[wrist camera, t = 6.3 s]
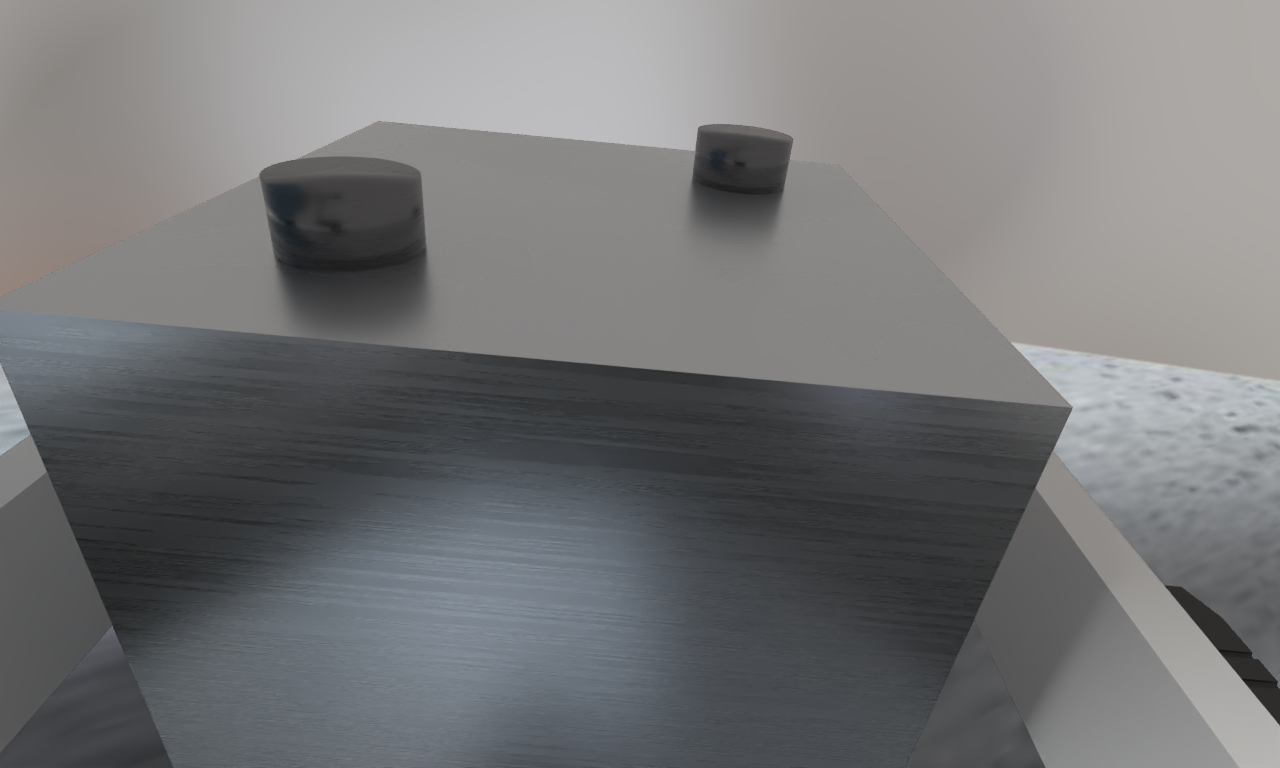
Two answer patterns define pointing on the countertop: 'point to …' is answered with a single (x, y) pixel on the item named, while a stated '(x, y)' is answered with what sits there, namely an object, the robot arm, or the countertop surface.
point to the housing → (532, 457)
